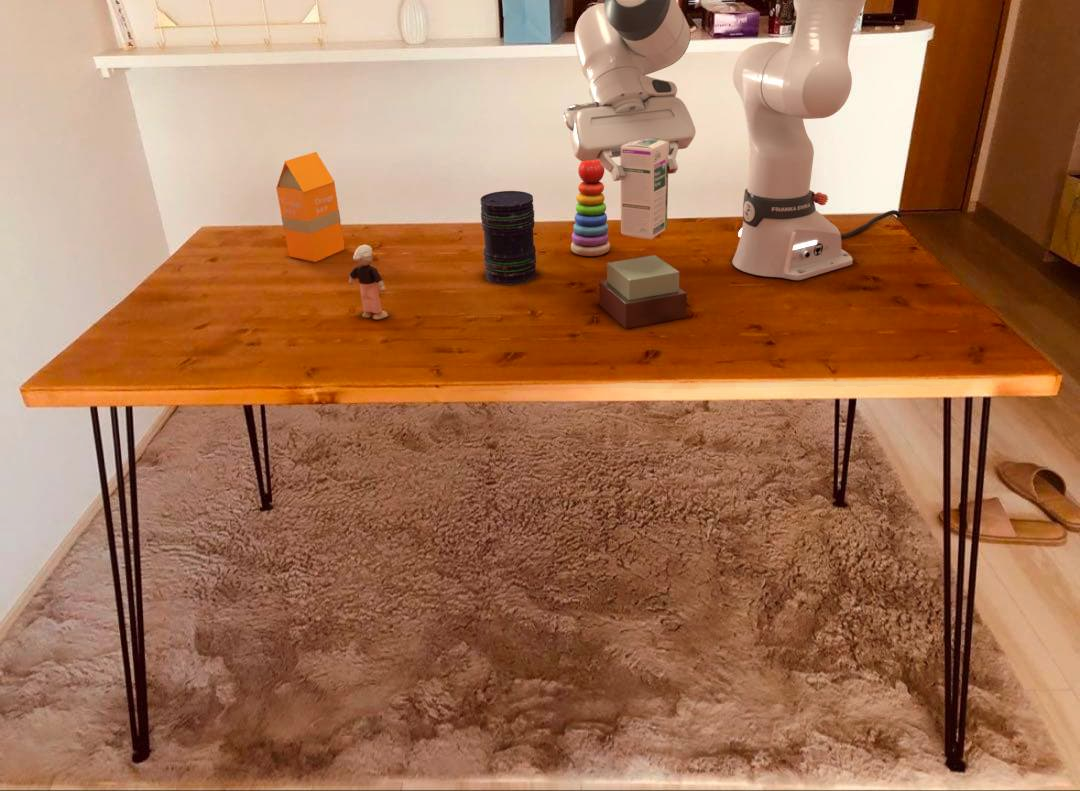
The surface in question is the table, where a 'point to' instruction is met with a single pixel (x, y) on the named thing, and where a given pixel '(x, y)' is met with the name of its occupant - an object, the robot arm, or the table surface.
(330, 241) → the orange juice
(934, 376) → the table surface
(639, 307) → the base block
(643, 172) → the syrup box
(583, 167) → the stacking toy
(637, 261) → the top block
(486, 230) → the dark blue cylinder
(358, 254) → the grandmother figurine
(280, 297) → the table surface
